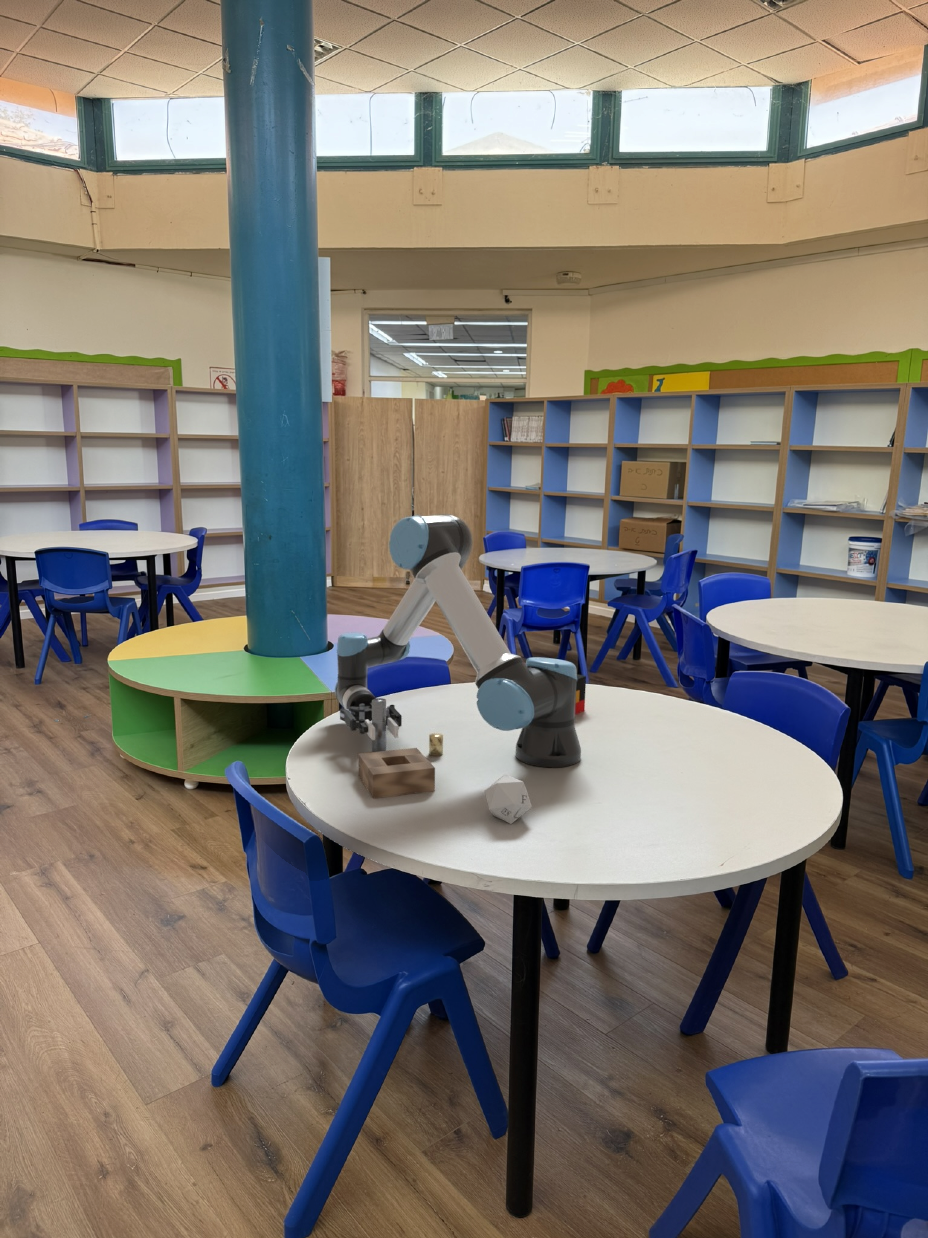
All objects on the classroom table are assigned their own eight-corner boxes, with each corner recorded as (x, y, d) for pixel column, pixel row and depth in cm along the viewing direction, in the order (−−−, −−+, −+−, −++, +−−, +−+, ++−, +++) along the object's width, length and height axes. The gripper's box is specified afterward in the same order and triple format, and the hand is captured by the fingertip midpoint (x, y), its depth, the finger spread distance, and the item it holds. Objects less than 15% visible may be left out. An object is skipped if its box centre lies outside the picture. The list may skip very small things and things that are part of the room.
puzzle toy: (566, 718, 221) (567, 682, 219) (534, 711, 227) (536, 676, 225) (584, 710, 228) (586, 675, 227) (553, 704, 234) (554, 670, 233)
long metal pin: (389, 759, 187) (389, 699, 185) (380, 763, 184) (379, 702, 182) (378, 756, 189) (378, 697, 186) (369, 760, 186) (368, 700, 184)
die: (487, 831, 152) (518, 797, 149) (468, 795, 158) (498, 761, 154) (516, 835, 157) (547, 802, 154) (498, 800, 163) (527, 767, 160)
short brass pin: (445, 753, 192) (445, 734, 191) (437, 757, 189) (437, 738, 188) (434, 750, 193) (434, 732, 193) (426, 754, 191) (426, 735, 190)
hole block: (416, 769, 181) (416, 747, 180) (434, 791, 169) (434, 767, 168) (358, 775, 176) (358, 753, 176) (373, 798, 164) (373, 774, 164)
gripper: (395, 716, 205) (423, 745, 184) (325, 722, 199) (345, 753, 178) (395, 687, 204) (423, 713, 183) (325, 692, 198) (345, 720, 177)
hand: (385, 732), depth 180 cm, fingers open, 4 cm apart
